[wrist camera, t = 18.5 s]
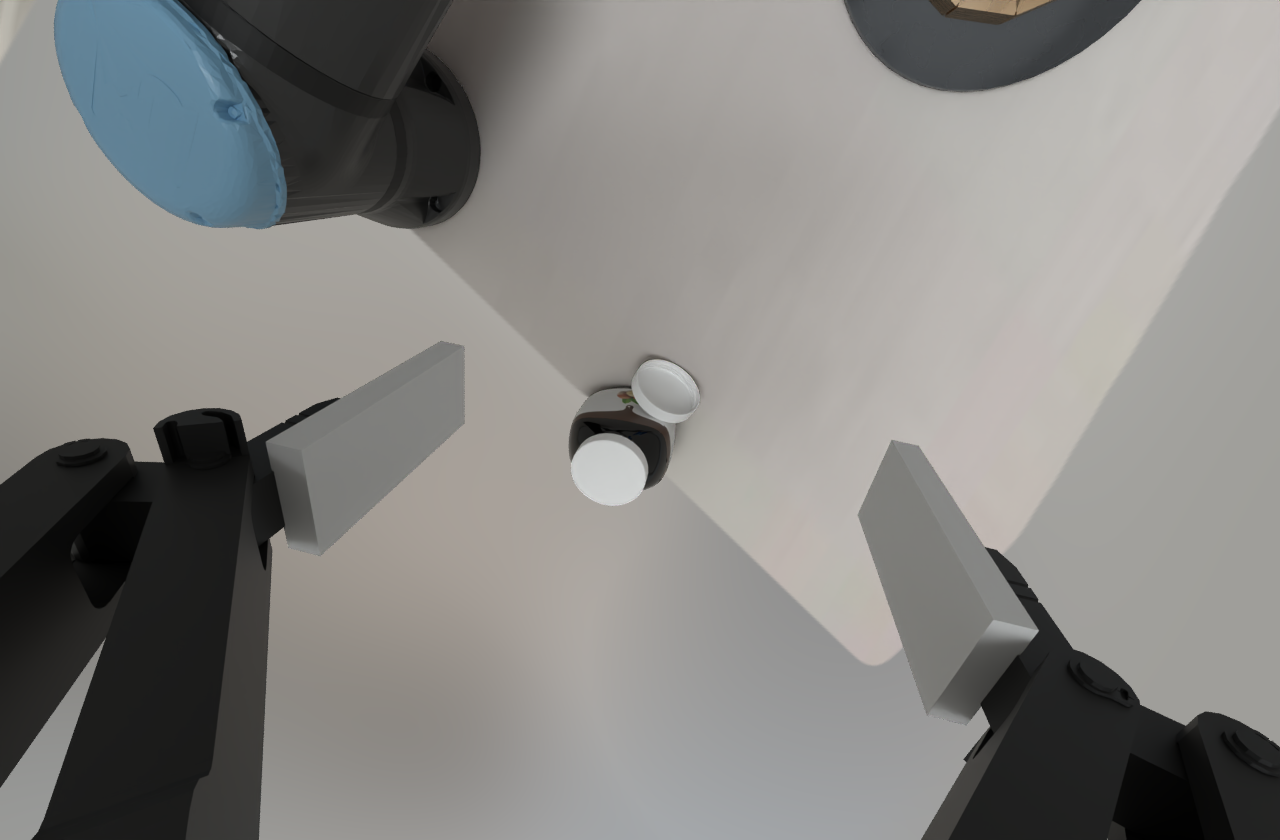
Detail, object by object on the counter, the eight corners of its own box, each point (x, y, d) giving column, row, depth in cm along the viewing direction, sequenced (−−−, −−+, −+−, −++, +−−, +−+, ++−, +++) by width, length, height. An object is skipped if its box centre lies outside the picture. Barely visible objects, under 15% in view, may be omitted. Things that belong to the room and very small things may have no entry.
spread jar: (586, 441, 57) (553, 500, 47) (589, 345, 52) (552, 388, 42) (691, 457, 56) (681, 522, 46) (705, 361, 51) (697, 409, 40)
